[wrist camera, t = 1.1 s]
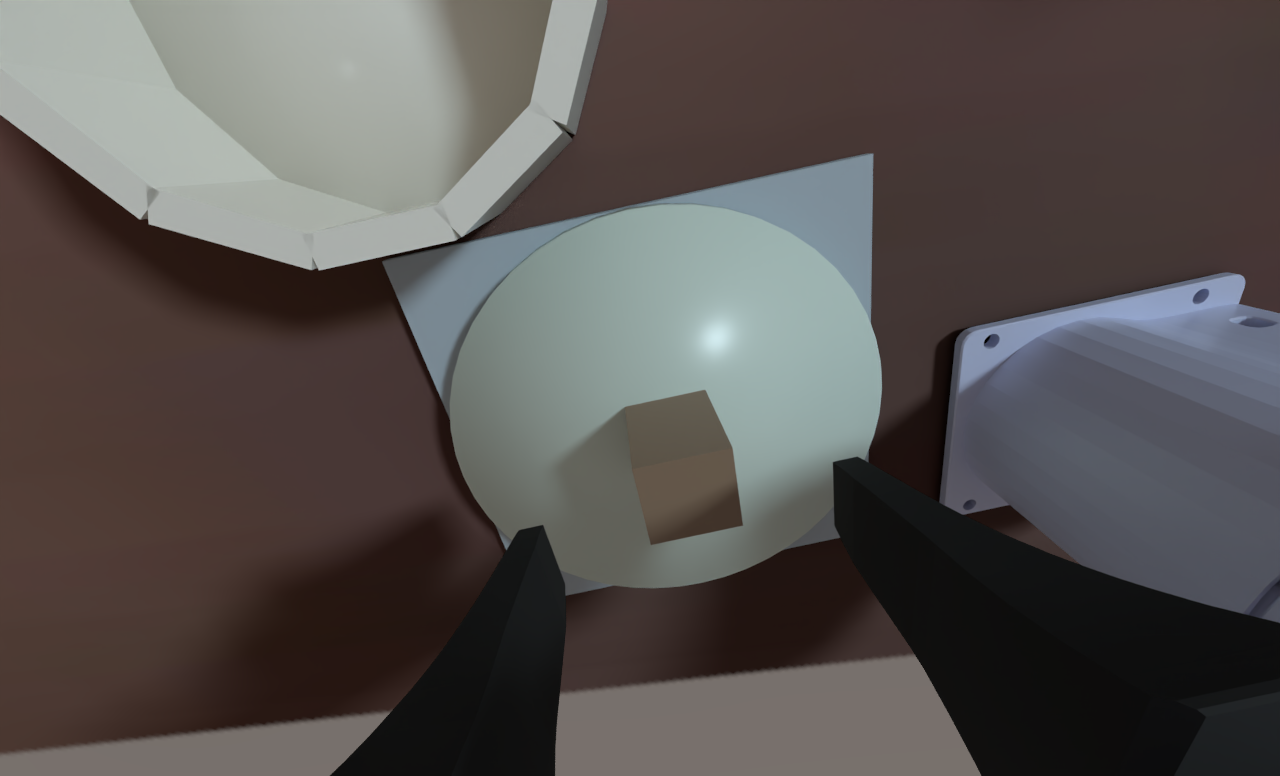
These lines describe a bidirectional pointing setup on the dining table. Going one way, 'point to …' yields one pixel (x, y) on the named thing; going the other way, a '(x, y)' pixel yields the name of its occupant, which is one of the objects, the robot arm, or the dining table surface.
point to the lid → (665, 394)
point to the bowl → (302, 112)
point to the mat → (792, 200)
